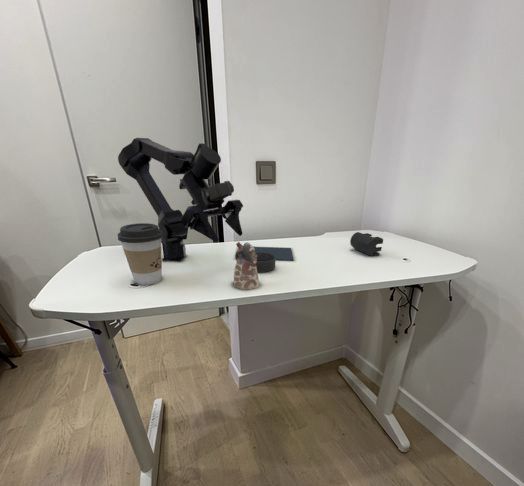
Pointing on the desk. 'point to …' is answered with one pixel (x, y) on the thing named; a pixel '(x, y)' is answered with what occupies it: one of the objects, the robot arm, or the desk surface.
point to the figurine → (246, 267)
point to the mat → (275, 252)
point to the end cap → (366, 243)
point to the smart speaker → (265, 262)
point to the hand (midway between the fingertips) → (230, 238)
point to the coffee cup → (143, 251)
